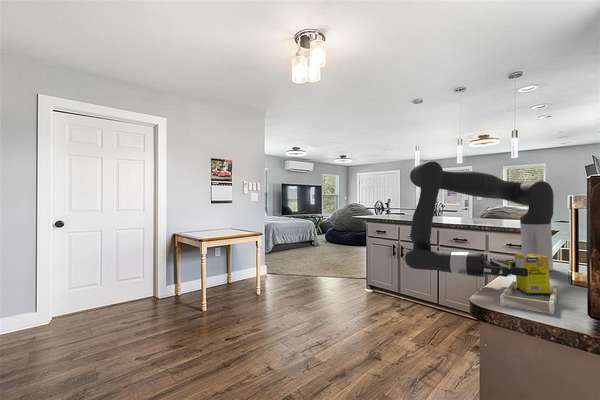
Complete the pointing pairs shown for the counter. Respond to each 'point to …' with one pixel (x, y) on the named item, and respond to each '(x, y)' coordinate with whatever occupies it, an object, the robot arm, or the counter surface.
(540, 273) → the supplement box
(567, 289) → the counter surface
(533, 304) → the track dock
